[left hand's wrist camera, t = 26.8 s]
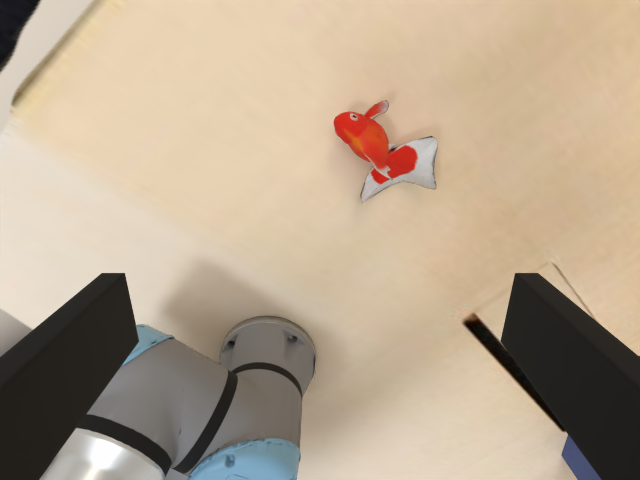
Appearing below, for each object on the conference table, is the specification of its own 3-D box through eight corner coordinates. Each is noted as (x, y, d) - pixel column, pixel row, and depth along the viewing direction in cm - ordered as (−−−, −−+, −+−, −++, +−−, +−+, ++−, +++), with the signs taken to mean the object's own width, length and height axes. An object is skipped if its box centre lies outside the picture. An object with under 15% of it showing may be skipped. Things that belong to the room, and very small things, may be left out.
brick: (588, 455, 69) (634, 517, 59) (561, 455, 69) (603, 518, 59) (600, 419, 66) (652, 479, 56) (573, 420, 66) (619, 479, 56)
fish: (399, 54, 41) (410, 109, 35) (448, 149, 51) (463, 204, 45) (318, 103, 46) (315, 158, 40) (377, 180, 56) (382, 233, 50)
